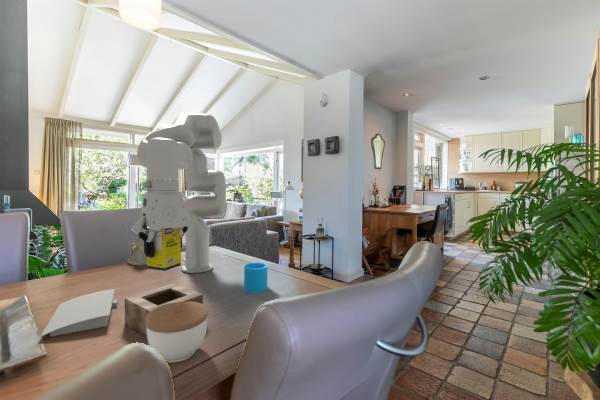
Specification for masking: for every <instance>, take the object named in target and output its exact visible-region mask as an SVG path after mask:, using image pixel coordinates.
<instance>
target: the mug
mask: <svg viewBox="0 0 600 400" xmlns="http://www.w3.org/2000/svg"><path fill="white" fill-rule="evenodd" d="M243 266H244V267H243V269H244V271H243V277H244V278H243V281H244V282H243V283H244V285H243V290H244V291H245V292H247V293H252V294H253V293H254V294H255V293H256V294H257V293H262V292H265V291H267V290H268V264H267V263H264V262H251V263H250V262H249V263H247V264H245V265H243Z"/></svg>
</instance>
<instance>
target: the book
mask: <svg viewBox="0 0 600 400" xmlns="http://www.w3.org/2000/svg"><path fill="white" fill-rule="evenodd" d="M114 295H115V288H113V289H105V290H100V291H95V292H92V293H89V294H84V295H80V296H76V297H74V298H72V299H71V298H70V299H69V300H66V301H63V302H61V303H60V304H59V305H58V307H57V308H56V310H55V311H54V313H53V315H52V317H51V318H50V320H49V321H48V323H47V325H46V326H45V328H44V330H43V331H42V333H41V334H40V338H42V337H44V336H45V335H50V336H49V337H50V338H51V337H57V336H60V335H67V334H71V333H72V332H73V333H77V331H78V332H83V331H88V330H93V329H98V328H103V327H108V326H109V319H110V315H111V311H112V308H117V307H118V298H115V299H114Z"/></svg>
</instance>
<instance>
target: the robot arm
mask: <svg viewBox="0 0 600 400" xmlns="http://www.w3.org/2000/svg"><path fill="white" fill-rule="evenodd" d="M221 144H222V133H221V130H220V127H219V123H218V121H217V119H216V118H215V117H214V116H213V115H212V114H209V113H194V112H193V113H191V112H187V113H181V114H179V115H178V116H177V117H176V118H175V119H174V121H173V123H172V124H171V125H170V126H167V127H164V128H160V129H157V130H153V131H151V132H149V133H148V134H146V135H144V137H143V138H142V139H141V141H140V142H139V143H138V145H137V150H136V159H137V161H138V163H139V164H140V165H141V167H143V168H146V179H145V181H143V182H141V187H142V188H143V189H144V188H145V190H146V191H144V194H143V199H142V205H141V216H140V218H139V219H138V220H137V221H136V222H135V223H134V224H133V225H132V226H131V227H130V230H131V231H132V232H133V233H134V234H135V235H136V237H139V238H141V239H142V241H144V253H145V255H146V256H147V257H150V258H153V257H154V242H152V239H153V237H154V234H155V232H159V231H161V229H163V228H172V229H180V240H181V252H182V251H183V250H182V248H183V238H184V236H185V257H184V258H183V259H182V262H184V265H183V266H181V271H182V272H184V273H187V274H199V273H200V274H201V273H205V272H208V271H211V270H213V267H214V265H213V264H212V263H211V262H210V229H209V225H208V223H206V221H205V220H204V219H220V218H223V217H224V216H225V215H226V212H227V192H226V191H227V188H226V186H227V184H226V176H225V174H224V172H223V171H221V170H219V169H218V170H217V169H208V158H207V155H206V154H205V153H204V151H203V150H202V149H206V150H208V149H209V150H210V149H211V150H216V149H219V148H220V146H221ZM182 169H185V183H186V184H185V185H186V188H187V190H188V191H189V192H191V193H206V194H207V193H210V194H211V193H212V194H214V195H190V196H189V195H188V196H187V197H184V196H183V192H182V191H179V189H180V188H179V187H180V185H179V184H180V183H179V178H180V177H179V175H180V174H179V172H180V171H179V170H182ZM141 229H143V230H145V231H144V232H143V231H142V230H141Z"/></svg>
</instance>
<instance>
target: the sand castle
mask: <svg viewBox="0 0 600 400" xmlns="http://www.w3.org/2000/svg"><path fill="white" fill-rule="evenodd" d="M128 252H129V257H128V258H127V263H128V264H129V265H132V266H145V265H146V266H147V256H146V255H145V253H144V241H142V239H141V238H139V237H138V236H136V237H135V239H134V240H133V241H132V243H130V244H129V247H128Z"/></svg>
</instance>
